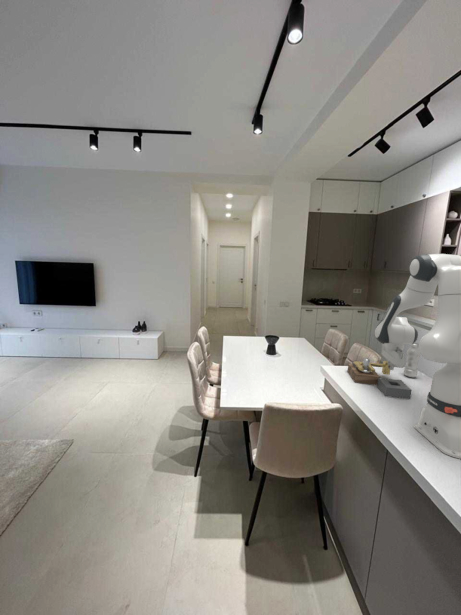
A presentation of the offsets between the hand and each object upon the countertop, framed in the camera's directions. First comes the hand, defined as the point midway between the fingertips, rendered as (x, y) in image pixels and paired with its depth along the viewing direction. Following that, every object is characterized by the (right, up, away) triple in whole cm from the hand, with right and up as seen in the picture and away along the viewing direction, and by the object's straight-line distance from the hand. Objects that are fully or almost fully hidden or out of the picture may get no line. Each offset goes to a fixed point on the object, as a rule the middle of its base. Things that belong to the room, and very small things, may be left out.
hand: (390, 369), depth 142 cm
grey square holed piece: (-6, -9, -12) cm, 16 cm away
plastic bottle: (+17, -7, +9) cm, 21 cm away
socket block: (-13, -6, +5) cm, 15 cm away
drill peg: (-14, -7, +2) cm, 15 cm away
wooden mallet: (-8, -4, +3) cm, 9 cm away
